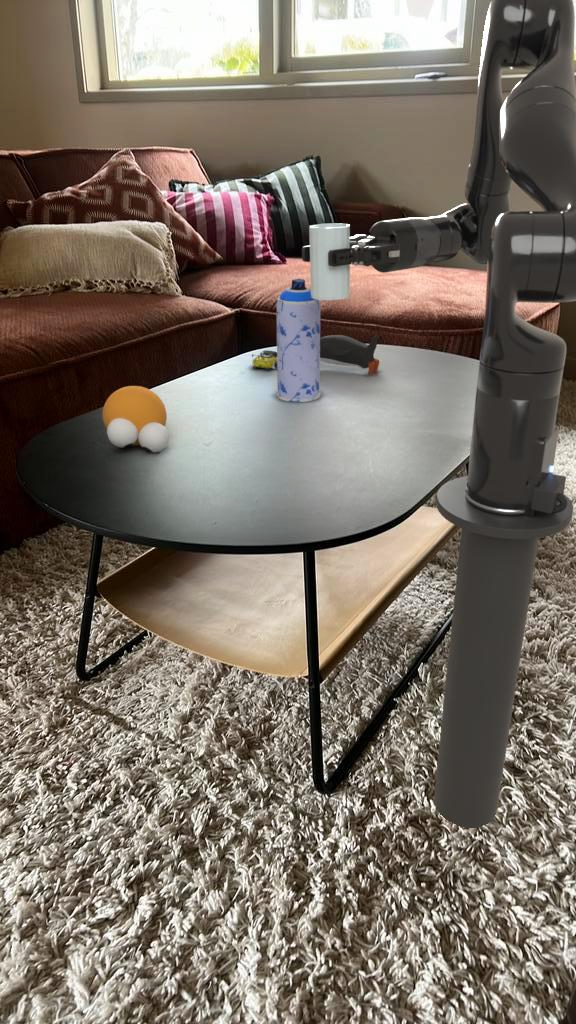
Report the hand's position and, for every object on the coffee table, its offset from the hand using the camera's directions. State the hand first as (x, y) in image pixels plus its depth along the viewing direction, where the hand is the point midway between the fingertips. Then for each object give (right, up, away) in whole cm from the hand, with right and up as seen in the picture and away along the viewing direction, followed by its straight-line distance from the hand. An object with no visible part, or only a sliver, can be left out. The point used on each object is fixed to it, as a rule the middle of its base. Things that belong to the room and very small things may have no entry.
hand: (316, 256), depth 110 cm
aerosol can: (-2, -16, +26) cm, 31 cm away
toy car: (-8, -7, +45) cm, 46 cm away
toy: (-26, -27, +6) cm, 38 cm away
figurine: (+6, -9, +41) cm, 43 cm away
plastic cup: (+2, -5, +4) cm, 6 cm away
